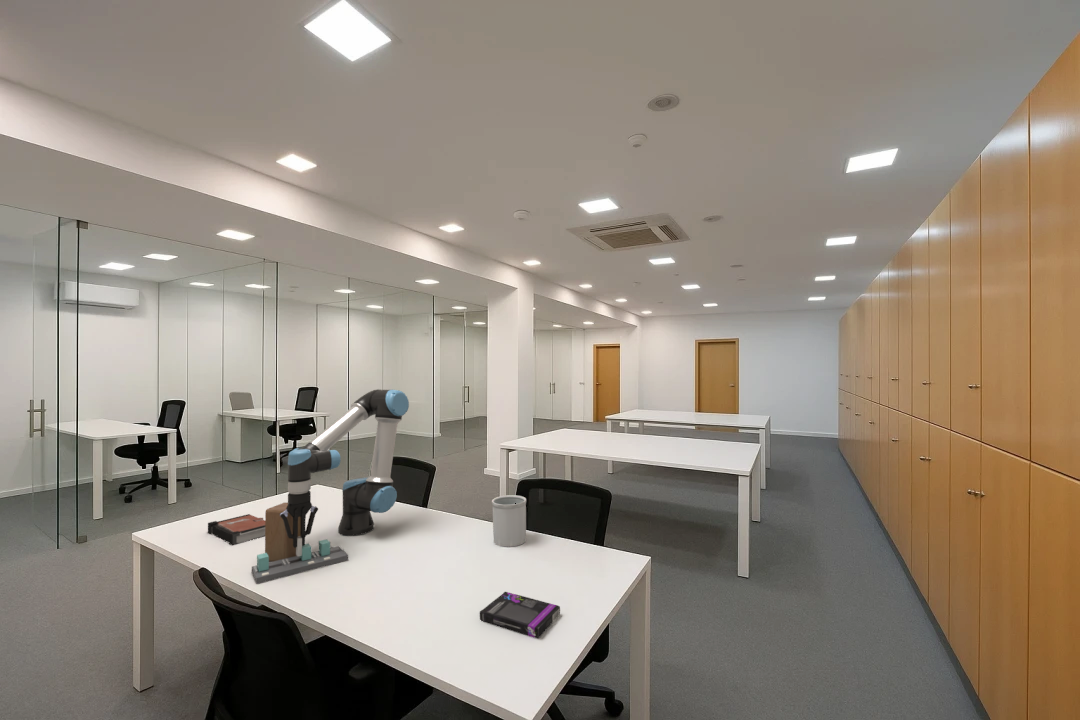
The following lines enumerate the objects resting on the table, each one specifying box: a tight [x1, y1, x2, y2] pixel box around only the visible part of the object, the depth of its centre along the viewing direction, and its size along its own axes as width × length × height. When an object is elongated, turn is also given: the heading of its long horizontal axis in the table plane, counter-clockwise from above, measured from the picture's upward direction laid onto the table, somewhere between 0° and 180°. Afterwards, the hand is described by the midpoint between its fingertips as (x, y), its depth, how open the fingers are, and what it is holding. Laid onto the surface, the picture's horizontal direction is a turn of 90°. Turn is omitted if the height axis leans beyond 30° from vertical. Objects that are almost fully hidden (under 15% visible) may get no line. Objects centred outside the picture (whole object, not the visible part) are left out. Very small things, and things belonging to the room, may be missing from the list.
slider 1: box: [256, 552, 270, 572], centre depth 160 cm, size 3×4×4 cm, turn 40°
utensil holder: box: [491, 494, 527, 548], centre depth 191 cm, size 15×15×18 cm
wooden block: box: [264, 502, 301, 562], centre depth 175 cm, size 10×10×20 cm
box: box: [479, 591, 561, 639], centre depth 131 cm, size 14×4×20 cm
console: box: [251, 545, 349, 585], centre depth 167 cm, size 30×12×3 cm, turn 130°
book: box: [207, 513, 265, 547], centre depth 202 cm, size 26×18×5 cm
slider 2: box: [300, 542, 312, 561], centre depth 169 cm, size 3×4×4 cm, turn 40°
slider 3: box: [318, 538, 331, 556], centre depth 173 cm, size 3×4×4 cm, turn 40°
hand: (298, 554), depth 167 cm, fingers closed
